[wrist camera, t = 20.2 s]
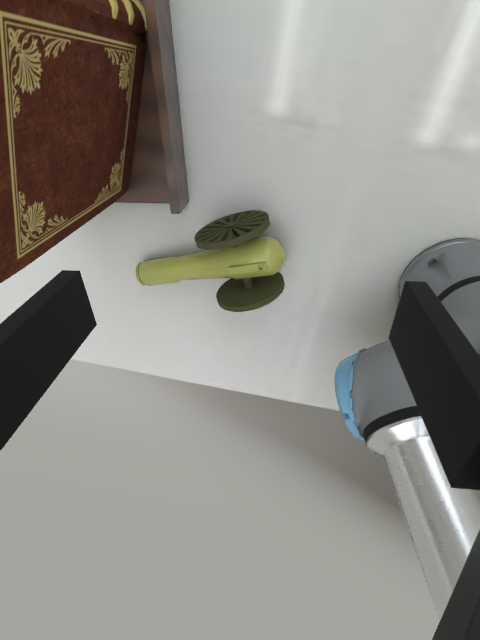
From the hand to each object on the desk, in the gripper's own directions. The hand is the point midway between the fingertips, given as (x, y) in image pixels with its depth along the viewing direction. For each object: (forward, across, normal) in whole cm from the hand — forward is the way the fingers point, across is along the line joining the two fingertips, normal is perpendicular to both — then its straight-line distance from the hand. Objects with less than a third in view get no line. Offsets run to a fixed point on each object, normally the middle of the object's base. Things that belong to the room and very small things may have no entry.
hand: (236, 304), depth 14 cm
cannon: (+41, -9, -16) cm, 45 cm away
